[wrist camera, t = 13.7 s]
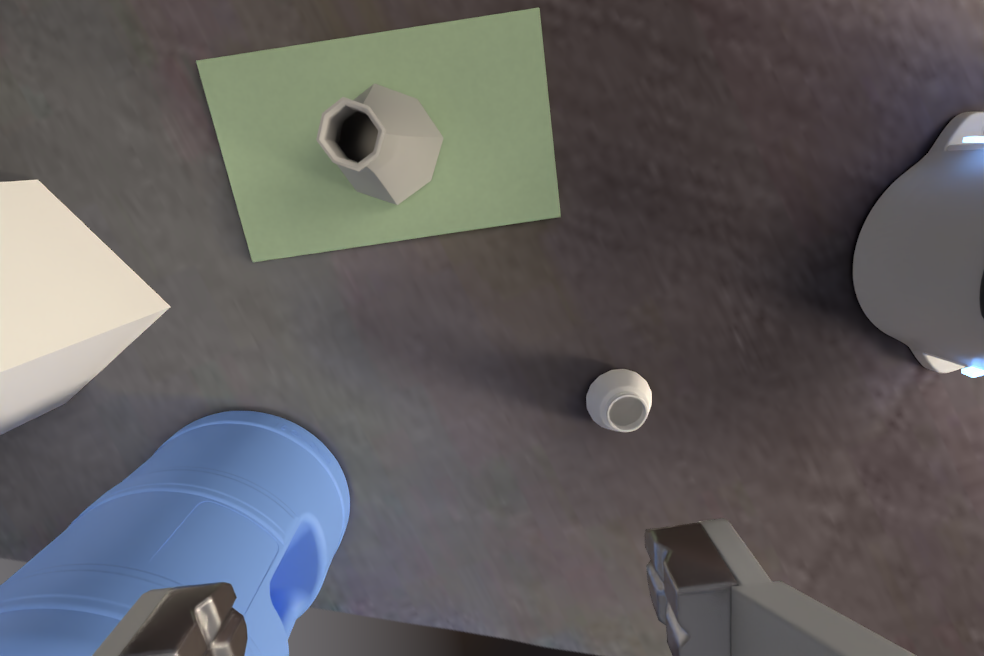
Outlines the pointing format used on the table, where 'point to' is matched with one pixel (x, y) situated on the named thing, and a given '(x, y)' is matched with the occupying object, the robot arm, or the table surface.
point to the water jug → (190, 538)
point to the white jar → (619, 400)
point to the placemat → (414, 72)
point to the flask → (381, 142)
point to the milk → (59, 303)
